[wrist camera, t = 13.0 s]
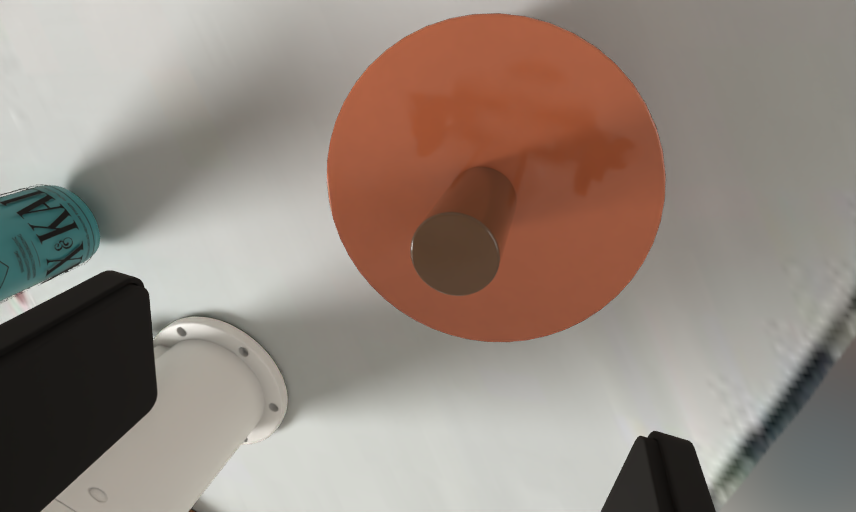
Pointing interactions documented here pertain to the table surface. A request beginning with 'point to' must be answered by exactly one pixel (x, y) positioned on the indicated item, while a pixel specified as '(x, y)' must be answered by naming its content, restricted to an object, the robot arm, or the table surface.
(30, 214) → the beverage bottle
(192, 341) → the robot arm
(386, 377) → the table surface
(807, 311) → the table surface
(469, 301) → the lid
